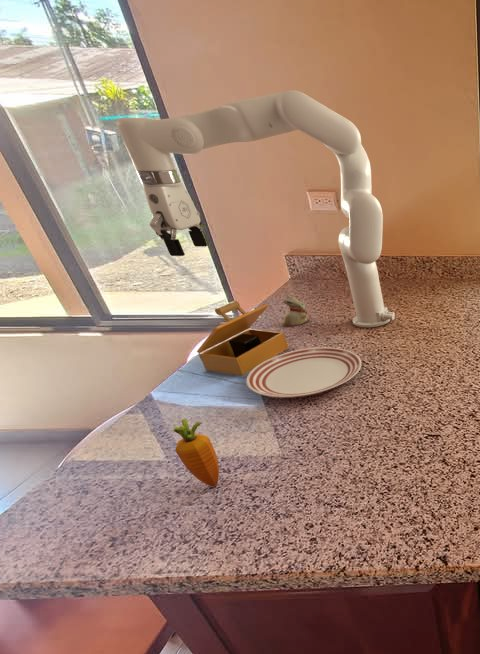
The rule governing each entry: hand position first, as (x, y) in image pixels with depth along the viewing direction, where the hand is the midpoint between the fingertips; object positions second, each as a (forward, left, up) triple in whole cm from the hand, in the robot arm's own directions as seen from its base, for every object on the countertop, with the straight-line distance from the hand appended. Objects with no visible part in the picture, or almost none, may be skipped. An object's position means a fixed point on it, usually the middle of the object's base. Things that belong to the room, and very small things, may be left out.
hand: (190, 250), depth 111 cm
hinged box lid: (-9, +3, -20) cm, 22 cm away
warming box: (-9, +3, -30) cm, 31 cm away
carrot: (-42, +47, -30) cm, 70 cm away
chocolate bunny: (-4, -24, -30) cm, 38 cm away
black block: (-10, +3, -29) cm, 31 cm away
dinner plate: (-33, +8, -30) cm, 45 cm away
